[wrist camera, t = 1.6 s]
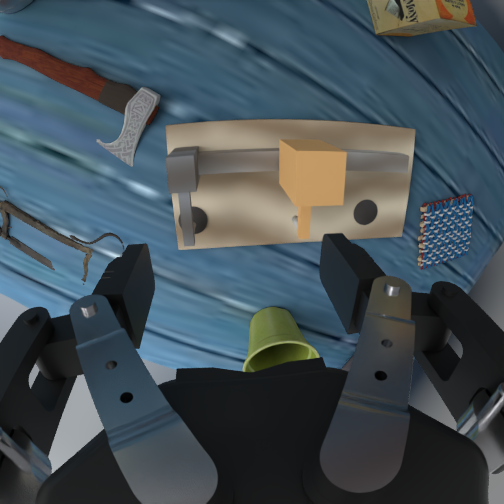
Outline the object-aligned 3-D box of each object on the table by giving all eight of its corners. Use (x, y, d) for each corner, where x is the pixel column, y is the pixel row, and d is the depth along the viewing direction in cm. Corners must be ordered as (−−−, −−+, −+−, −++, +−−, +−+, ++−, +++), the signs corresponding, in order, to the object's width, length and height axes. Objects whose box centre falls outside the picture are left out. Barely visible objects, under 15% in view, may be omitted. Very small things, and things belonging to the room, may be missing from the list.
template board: (167, 125, 29) (153, 131, 23) (410, 128, 31) (445, 137, 25) (180, 245, 36) (172, 277, 30) (397, 232, 38) (424, 257, 32)
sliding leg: (277, 138, 29) (296, 150, 22) (316, 138, 29) (346, 151, 22) (276, 224, 33) (293, 260, 26) (312, 222, 33) (337, 257, 26)
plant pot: (312, 330, 44) (328, 373, 37) (255, 354, 45) (262, 399, 38) (290, 285, 40) (305, 329, 32) (226, 313, 41) (228, 360, 33)
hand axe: (-25, 101, 23) (-2, 30, 18) (-17, 99, 24) (7, 30, 20) (129, 183, 31) (171, 102, 27) (134, 178, 33) (175, 101, 28)
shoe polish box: (400, 1, 23) (463, -20, 13) (409, 36, 26) (476, 26, 15) (366, -2, 23) (424, -31, 13) (376, 35, 26) (440, 18, 15)
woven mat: (413, 267, 42) (420, 274, 40) (416, 201, 37) (425, 207, 35) (462, 251, 42) (469, 257, 40) (468, 190, 37) (477, 195, 35)
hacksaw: (-23, 216, 30) (-29, 220, 29) (-10, 153, 27) (-16, 156, 26) (103, 298, 39) (99, 304, 37) (131, 241, 35) (128, 246, 34)
